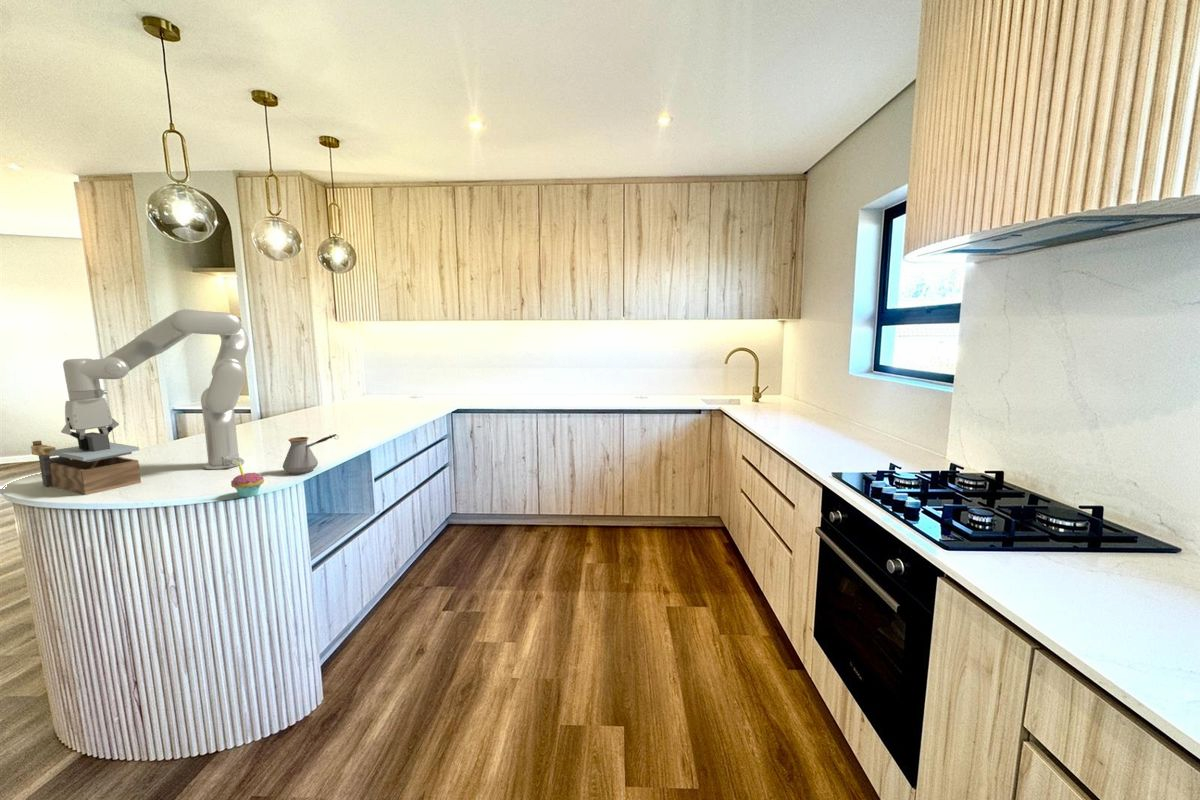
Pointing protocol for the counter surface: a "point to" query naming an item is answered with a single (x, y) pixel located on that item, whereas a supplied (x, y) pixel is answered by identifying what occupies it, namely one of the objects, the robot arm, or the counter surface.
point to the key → (41, 449)
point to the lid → (95, 449)
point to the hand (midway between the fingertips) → (94, 447)
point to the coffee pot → (301, 456)
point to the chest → (89, 473)
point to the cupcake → (247, 483)
